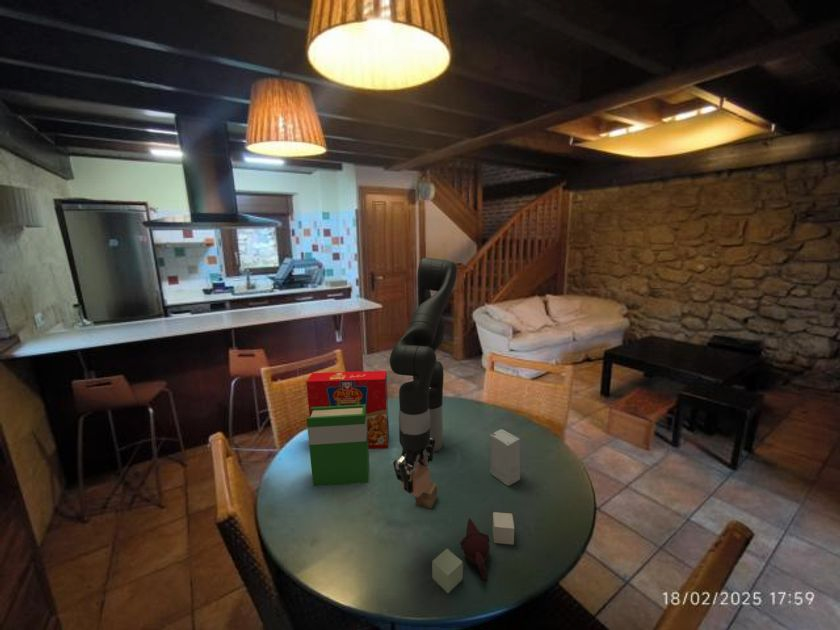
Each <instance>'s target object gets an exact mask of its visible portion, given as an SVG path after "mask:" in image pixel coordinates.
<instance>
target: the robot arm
mask: <svg viewBox="0 0 840 630" xmlns="http://www.w3.org/2000/svg"><path fill="white" fill-rule="evenodd" d="M457 273H458V267H457V264H456V263H455V261H451V260H446V259H441V258H433V257H423V258H421V260H420V261H419V264H418V267H417V277H416V279H417V308H416V309H415V310H414V312H413V314H412V316H411V319H410V322H409V325H408V327H407V329H406V331H405V332H404V334H403V335H402V337H401V338H400V339H399V340H398V342H397V343H396V344H395V346H393V349H392V350H391V353H390V357H389V365H390V369H391V370H392V372H393V373H394V374H396V375H399V376H409V377H412V380H411V381H407V382H405V383H402V384H401V385H400V387H399V390H398V395H399V396H398V399H399V401H398V403H399V412H398V413H399V414H398V432H399V433H398V435H399V444H400V447H401V448H402V451H401V452H402V453H401V457H400V458H399V459H394V460H393V462H392V465H393V468H394V473H395V477H396V480H398V481H400V482H401V483H402V482H403V483H404V491H405V492H407V493H408V494H410V495H412V494H411V493H412V492H413V480H412V479H413V474H414V472H415V471H416V468H417V463H418V464H421V465H423V466H425V467H427V468H428V467H429V463H432V462H433V458H434V452H438V451H440V450H441V449H443V446H444V439H443V438H444V434H443V433H444V427H443V426H444V424H443V423H444V418H443V417H444V415H443V406H444V405H443V399H444V394H443V393H444V392H443V391H444V375H445V374H444V366H443V364H442V362H440V361H438V360H437V355H436V351H437V350H438V348H439V347H440V346H441V345H442V343H443V341H444V338H445V337H444V336H445V329H446V322H445V319H444V316H443V312H444V310H445V308H446V307H447V304H448V302H449V299H450V298H451V295H452V293H453V290H454V288H455V285H456V282H457V281H456V280H457ZM431 291H434V292H436V293H435V294H433V295H432V294H431ZM428 453H429V454H428ZM409 465H411V466H412V467H411V466H409ZM407 470H408V471H409V475H408V474H407Z"/></svg>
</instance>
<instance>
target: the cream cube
mask: <svg viewBox="0 0 840 630" xmlns="http://www.w3.org/2000/svg"><path fill="white" fill-rule="evenodd" d="M492 534H493V535H492V537H493V538H492V539H493V544H504V545H514V543H515V542H514V541H515V524H514V517H513V513H509V512H508V513H507V512H498V511H497V512H496V511H495V512H494V511H493V512H492Z"/></svg>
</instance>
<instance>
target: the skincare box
mask: <svg viewBox="0 0 840 630" xmlns="http://www.w3.org/2000/svg"><path fill="white" fill-rule="evenodd" d="M520 441H521V440H520V438H519V437H517V436H516V435H514V434H511V433H510V432H508V431H506V430H504V429H502V428H501V429H499V430H496V431H495V432H492V433H491V434H489V455H490V456H489V461H490V462H489V463H490V464H489V467H490V474H491V475H492V476H493V477H495V478H496V479H497V480H499V481H500V482H502V484H504V485H505V486H507V487H509V486H510V485H513V484H515V483H517V482H519V481H520V479H521V452H520V451H521V448H520V447H521V444H520V443H521V442H520Z"/></svg>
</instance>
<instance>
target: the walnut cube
mask: <svg viewBox="0 0 840 630" xmlns="http://www.w3.org/2000/svg"><path fill="white" fill-rule="evenodd" d="M437 485H438V483H437V482H433V481H430V487H428V488H427V489H426V490H425V491H424V492H423V493H422V494H421V495H420V496H419V497H416V496H414V498H415V499H414V501H415V503H414V504H415V505H417V506H420V507H424V508H426V509H430V510H431V509H432V508H433V506H434V504H435V502H436V501H437V498H438V495H437V494H438V486H437Z"/></svg>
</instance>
